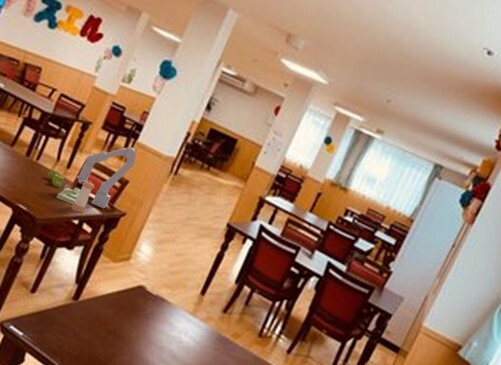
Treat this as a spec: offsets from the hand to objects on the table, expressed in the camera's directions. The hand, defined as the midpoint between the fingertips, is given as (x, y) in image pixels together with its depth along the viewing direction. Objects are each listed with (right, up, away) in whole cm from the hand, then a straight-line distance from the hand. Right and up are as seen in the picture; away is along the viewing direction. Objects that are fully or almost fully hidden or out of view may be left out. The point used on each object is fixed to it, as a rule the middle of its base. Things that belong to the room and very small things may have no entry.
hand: (77, 191), depth 339 cm
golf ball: (+1, 0, -5) cm, 5 cm away
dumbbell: (-18, +5, +7) cm, 20 cm away
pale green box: (0, -5, -10) cm, 11 cm away
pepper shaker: (+9, -11, -27) cm, 31 cm away
